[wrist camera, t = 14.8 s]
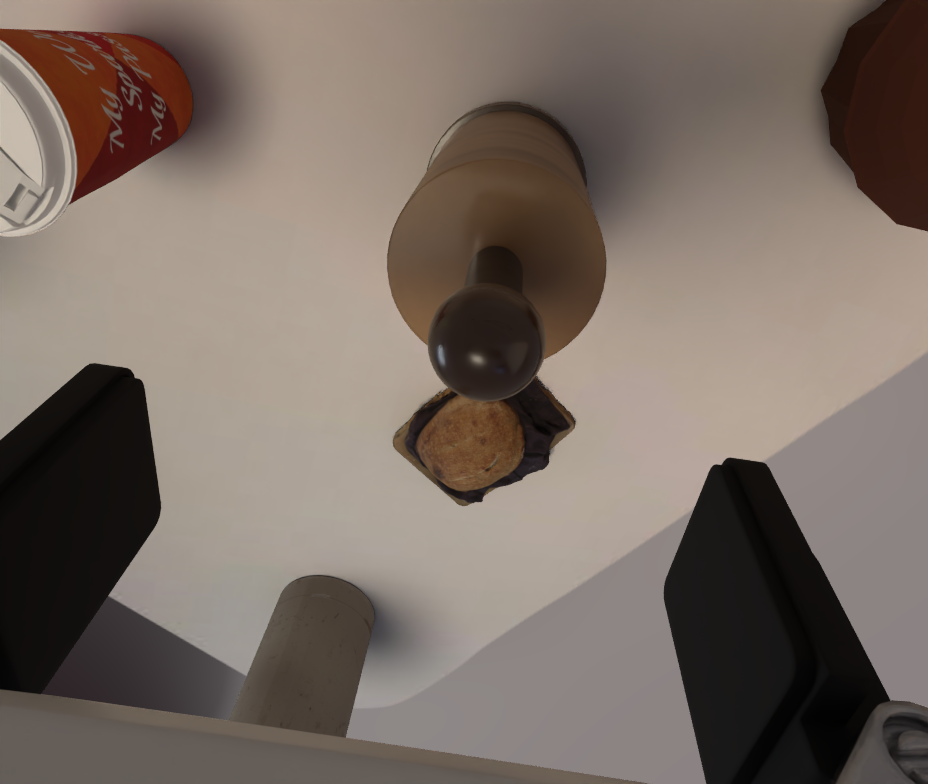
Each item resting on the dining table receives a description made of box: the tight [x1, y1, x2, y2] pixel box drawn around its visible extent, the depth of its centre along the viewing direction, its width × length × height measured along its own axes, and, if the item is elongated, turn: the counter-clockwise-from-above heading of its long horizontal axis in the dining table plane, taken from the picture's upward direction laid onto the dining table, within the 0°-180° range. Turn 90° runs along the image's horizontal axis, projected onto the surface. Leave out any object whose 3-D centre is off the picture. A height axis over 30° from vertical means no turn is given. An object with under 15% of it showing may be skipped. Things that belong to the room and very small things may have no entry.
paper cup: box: [0, 29, 193, 236], centre depth 30 cm, size 8×8×14 cm
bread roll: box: [393, 377, 575, 506], centre depth 43 cm, size 11×8×4 cm
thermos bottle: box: [228, 576, 374, 738], centre depth 43 cm, size 8×8×28 cm
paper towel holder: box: [387, 102, 606, 402], centre depth 27 cm, size 9×9×22 cm
